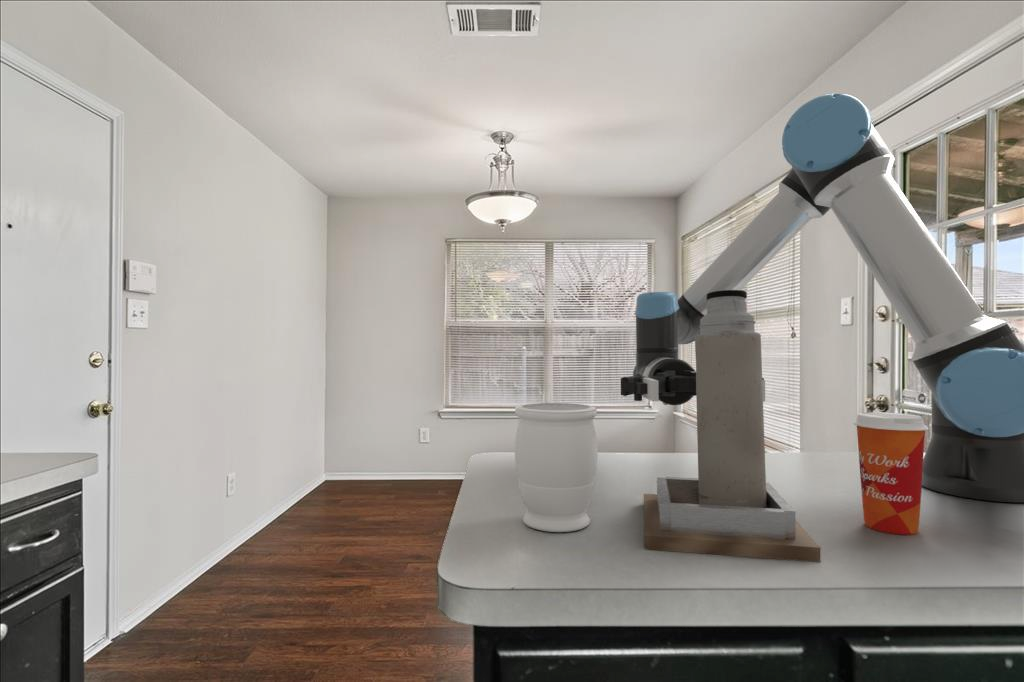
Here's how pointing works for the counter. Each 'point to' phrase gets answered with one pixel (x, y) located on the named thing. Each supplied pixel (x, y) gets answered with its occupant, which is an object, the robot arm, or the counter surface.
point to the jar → (556, 464)
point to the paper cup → (891, 470)
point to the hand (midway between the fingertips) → (708, 391)
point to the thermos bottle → (730, 405)
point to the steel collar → (721, 513)
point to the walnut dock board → (725, 540)
